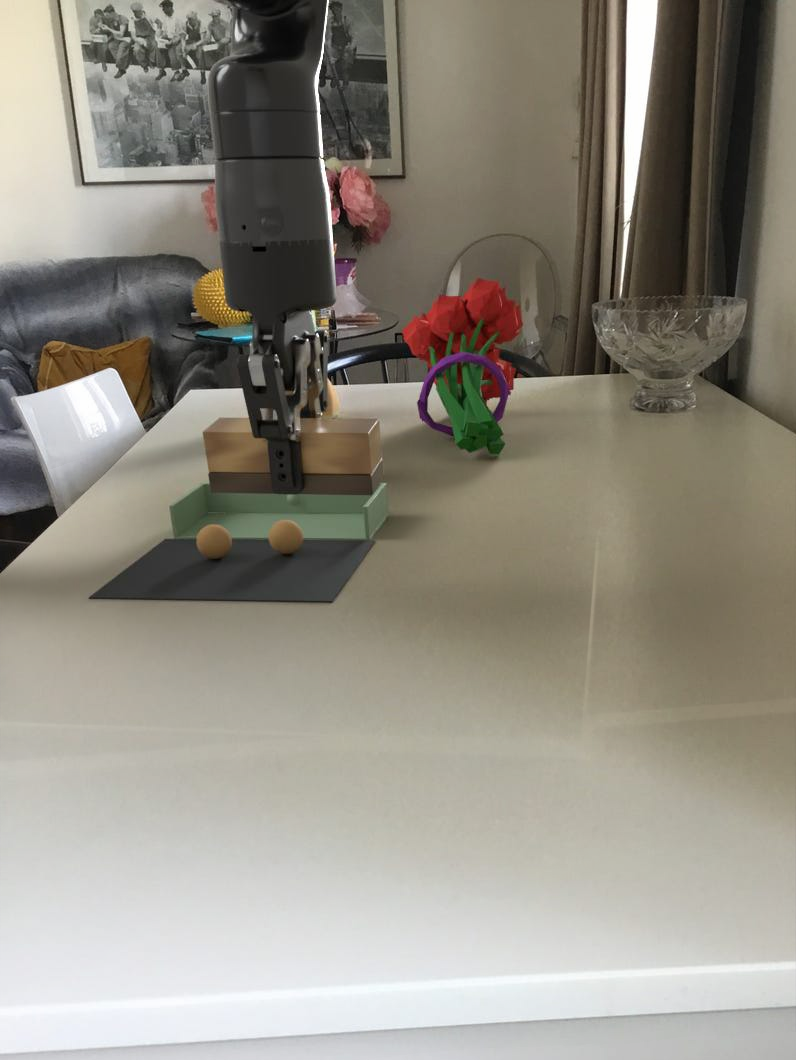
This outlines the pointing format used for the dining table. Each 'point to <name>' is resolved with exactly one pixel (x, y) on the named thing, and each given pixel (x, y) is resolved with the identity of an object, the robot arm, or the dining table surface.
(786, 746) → the dining table surface
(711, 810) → the dining table surface
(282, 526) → the ball
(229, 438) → the brush
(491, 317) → the bouquet
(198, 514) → the dustpan
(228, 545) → the ball
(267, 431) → the robot arm
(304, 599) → the mat
